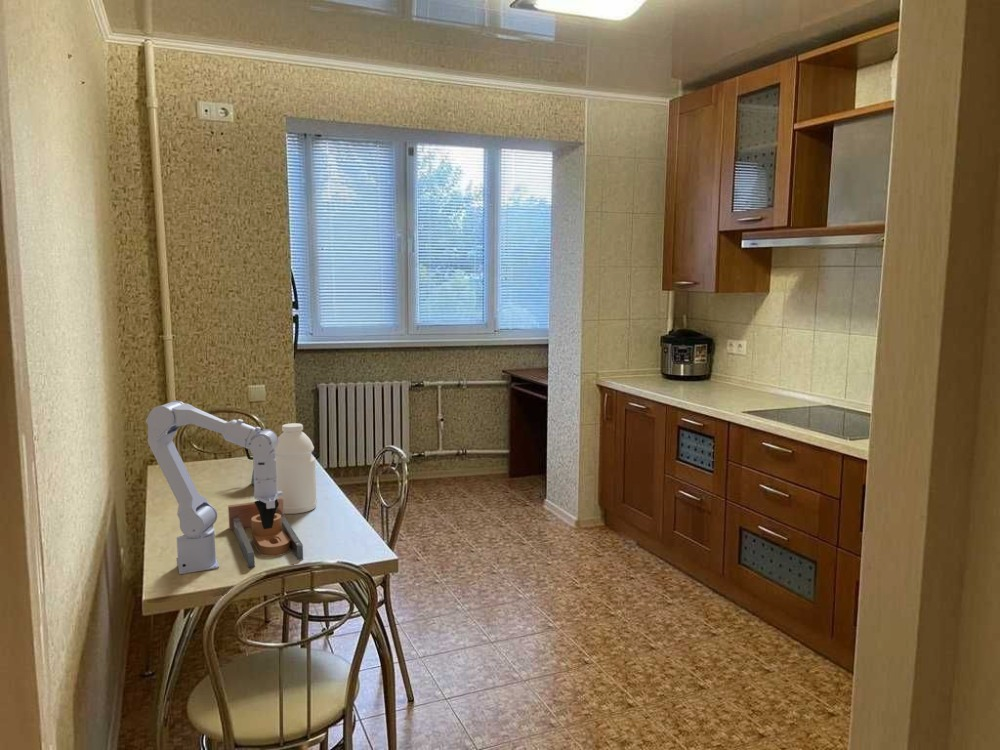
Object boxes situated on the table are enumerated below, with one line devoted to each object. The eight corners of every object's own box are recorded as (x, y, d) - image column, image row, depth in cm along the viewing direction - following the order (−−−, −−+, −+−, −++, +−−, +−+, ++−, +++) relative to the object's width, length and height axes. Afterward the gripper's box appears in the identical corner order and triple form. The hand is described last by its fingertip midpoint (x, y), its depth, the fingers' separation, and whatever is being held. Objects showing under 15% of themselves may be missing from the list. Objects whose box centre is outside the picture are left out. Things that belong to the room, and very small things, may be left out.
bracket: (249, 538, 215) (248, 515, 214) (278, 533, 219) (277, 511, 218) (262, 558, 199) (261, 534, 198) (293, 553, 203) (292, 529, 202)
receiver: (244, 568, 192) (243, 542, 191) (228, 527, 224) (227, 505, 223) (306, 558, 199) (305, 533, 198) (282, 520, 231) (282, 498, 230)
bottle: (321, 501, 250) (318, 420, 247) (312, 514, 237) (309, 428, 233) (279, 502, 250) (276, 421, 246) (268, 514, 236) (264, 429, 233)
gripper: (286, 482, 186) (288, 533, 187) (276, 469, 199) (278, 517, 200) (257, 485, 183) (259, 538, 184) (249, 472, 196) (251, 521, 197)
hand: (267, 527), depth 192 cm, fingers closed
